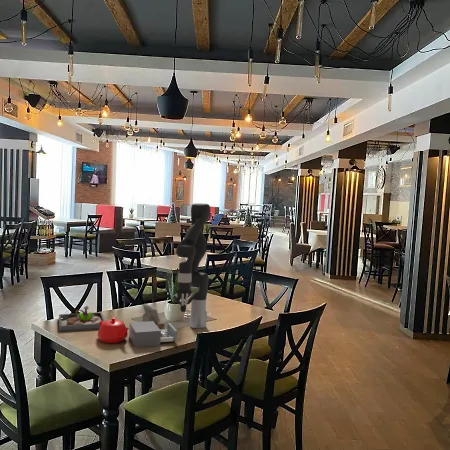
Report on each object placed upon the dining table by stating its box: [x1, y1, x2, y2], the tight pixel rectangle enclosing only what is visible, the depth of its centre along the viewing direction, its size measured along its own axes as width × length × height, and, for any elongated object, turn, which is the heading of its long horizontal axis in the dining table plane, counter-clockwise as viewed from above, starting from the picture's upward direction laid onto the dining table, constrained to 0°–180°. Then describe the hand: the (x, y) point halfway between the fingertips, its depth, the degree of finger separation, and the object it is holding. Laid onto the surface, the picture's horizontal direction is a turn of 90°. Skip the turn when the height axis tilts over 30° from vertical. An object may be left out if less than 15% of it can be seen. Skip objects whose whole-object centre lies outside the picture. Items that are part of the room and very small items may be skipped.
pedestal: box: [157, 321, 166, 330], centre depth 242 cm, size 4×4×5 cm
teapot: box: [97, 316, 130, 344], centre depth 223 cm, size 25×16×12 cm, turn 51°
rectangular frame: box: [58, 311, 106, 332], centre depth 249 cm, size 25×25×3 cm
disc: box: [161, 330, 170, 338], centre depth 229 cm, size 6×6×2 cm
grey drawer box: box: [160, 322, 178, 343], centre depth 228 cm, size 13×15×6 cm
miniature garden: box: [66, 305, 101, 325], centre depth 251 cm, size 20×20×11 cm
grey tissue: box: [141, 303, 161, 326], centre depth 259 cm, size 16×9×11 cm, turn 24°
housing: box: [128, 321, 161, 349], centre depth 225 cm, size 13×18×8 cm
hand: (183, 311), depth 232 cm, fingers closed
